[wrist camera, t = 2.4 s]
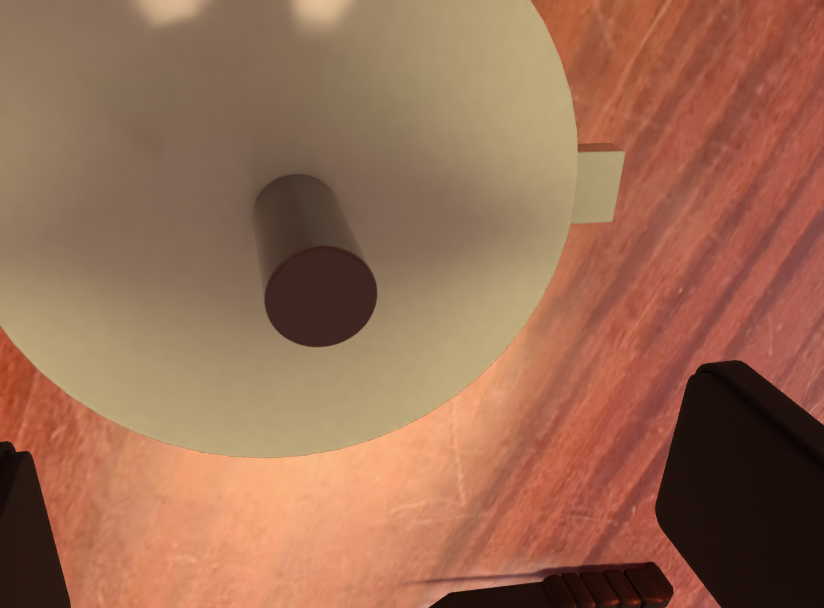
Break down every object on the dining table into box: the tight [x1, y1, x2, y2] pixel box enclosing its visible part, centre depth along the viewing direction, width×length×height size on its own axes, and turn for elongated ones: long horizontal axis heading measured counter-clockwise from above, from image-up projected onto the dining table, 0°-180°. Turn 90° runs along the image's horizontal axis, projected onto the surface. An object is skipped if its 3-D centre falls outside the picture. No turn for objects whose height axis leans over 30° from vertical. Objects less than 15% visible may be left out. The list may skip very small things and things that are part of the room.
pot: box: [570, 143, 626, 224], centre depth 23 cm, size 16×21×8 cm
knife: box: [429, 563, 674, 608], centre depth 40 cm, size 17×1×3 cm, turn 78°
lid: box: [0, 0, 578, 458], centre depth 17 cm, size 17×17×6 cm
